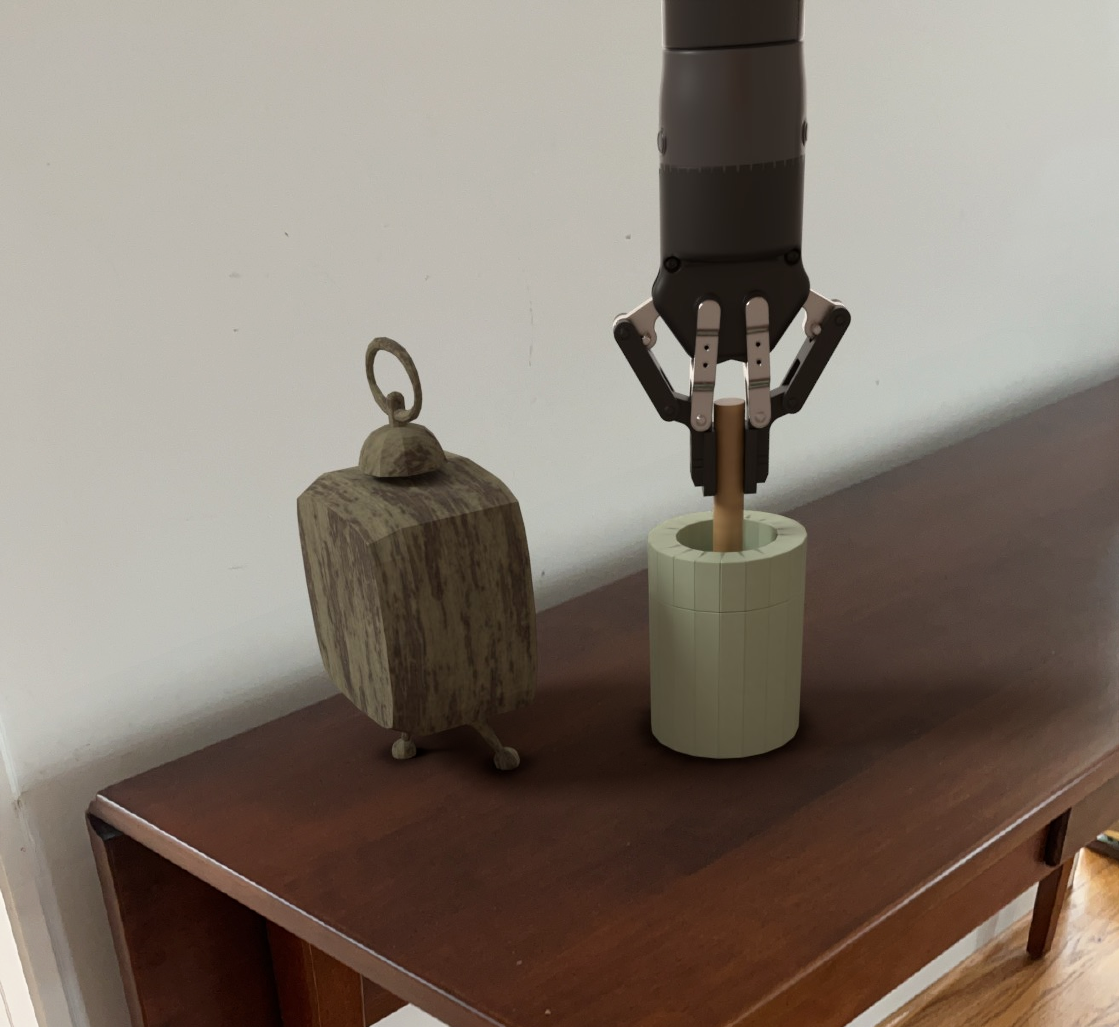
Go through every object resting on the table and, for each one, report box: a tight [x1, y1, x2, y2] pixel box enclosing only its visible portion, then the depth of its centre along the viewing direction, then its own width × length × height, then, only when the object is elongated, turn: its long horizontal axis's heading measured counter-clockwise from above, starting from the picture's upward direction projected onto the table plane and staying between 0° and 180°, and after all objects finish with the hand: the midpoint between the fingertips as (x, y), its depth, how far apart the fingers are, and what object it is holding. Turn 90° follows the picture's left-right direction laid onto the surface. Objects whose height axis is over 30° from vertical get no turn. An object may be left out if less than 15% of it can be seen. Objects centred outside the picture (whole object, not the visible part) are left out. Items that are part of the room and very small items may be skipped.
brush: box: [712, 397, 746, 553], centre depth 85 cm, size 3×3×17 cm
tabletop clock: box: [296, 336, 538, 771], centre depth 85 cm, size 14×9×25 cm, turn 30°
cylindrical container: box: [647, 509, 808, 760], centre depth 89 cm, size 9×9×13 cm
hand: (728, 490), depth 83 cm, fingers closed on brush, 2 cm apart
